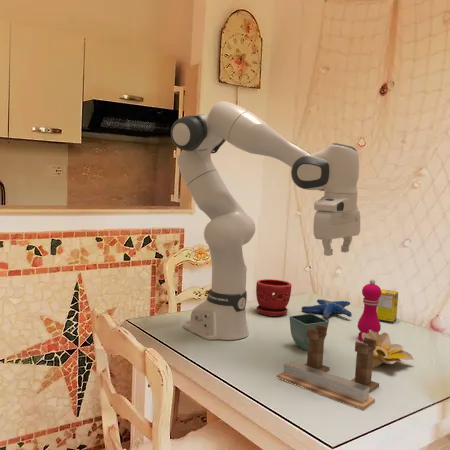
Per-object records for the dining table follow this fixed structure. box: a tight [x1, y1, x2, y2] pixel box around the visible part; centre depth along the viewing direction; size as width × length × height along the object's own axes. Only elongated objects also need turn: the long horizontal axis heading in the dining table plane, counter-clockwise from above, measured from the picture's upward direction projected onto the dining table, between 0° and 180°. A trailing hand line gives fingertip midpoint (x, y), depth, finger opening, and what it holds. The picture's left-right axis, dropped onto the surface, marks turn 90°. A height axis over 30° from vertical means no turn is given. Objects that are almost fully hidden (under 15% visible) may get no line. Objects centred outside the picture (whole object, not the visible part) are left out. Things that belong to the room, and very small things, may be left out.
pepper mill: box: [357, 279, 382, 343], centre depth 160 cm, size 7×7×20 cm
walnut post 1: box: [303, 324, 331, 373], centre depth 133 cm, size 6×6×12 cm
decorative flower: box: [362, 330, 414, 369], centre depth 139 cm, size 15×11×10 cm
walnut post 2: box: [349, 337, 380, 394], centre depth 124 cm, size 6×6×12 cm
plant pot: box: [255, 278, 292, 317], centre depth 186 cm, size 13×13×12 cm
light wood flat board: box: [276, 371, 376, 411], centre depth 122 cm, size 24×6×1 cm, turn 49°
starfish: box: [301, 298, 353, 319], centre depth 188 cm, size 19×19×5 cm
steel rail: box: [283, 360, 370, 403], centre depth 122 cm, size 22×3×3 cm, turn 49°
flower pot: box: [289, 313, 329, 351], centre depth 151 cm, size 9×9×9 cm
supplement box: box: [377, 289, 399, 324], centre depth 183 cm, size 6×6×11 cm
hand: (336, 253), depth 137 cm, fingers open, 8 cm apart
